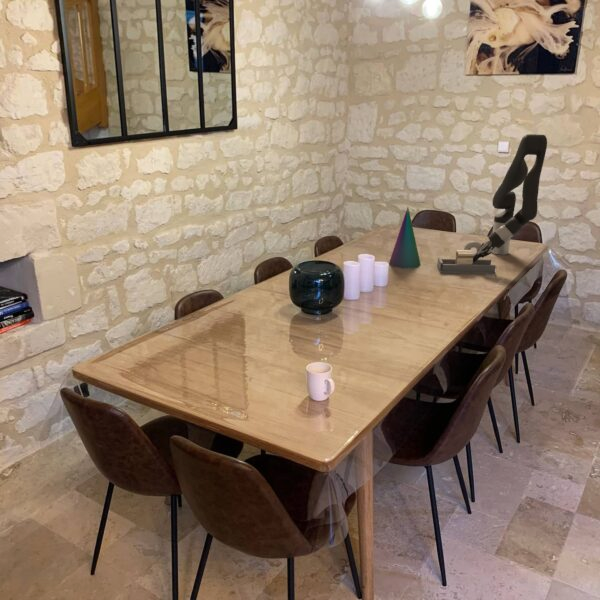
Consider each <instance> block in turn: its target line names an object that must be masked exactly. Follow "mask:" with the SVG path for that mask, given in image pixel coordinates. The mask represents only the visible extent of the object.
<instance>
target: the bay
mask: <svg viewBox="0 0 600 600" xmlns="http://www.w3.org/2000/svg"><path fill="white" fill-rule="evenodd" d="M455 260H456V258H442V257H441V256H438V257H437V264H436V266H437V269H438V270H439V273H440V274H451V275H454V274H455V275H492V274H495V275H496V274H497V273H496V265H495V264H492V259H483V258H482V259H481V258H479V259H478V260H477V261H475V262H473V264H472V265H466V264H455Z"/></svg>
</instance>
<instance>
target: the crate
mask: <svg viewBox="0 0 600 600" xmlns="http://www.w3.org/2000/svg"><path fill="white" fill-rule="evenodd" d="M473 253H474V252H473V251H472V250H464V249H456V251H455V259H456V260H455V264H466V265H472V264H473Z"/></svg>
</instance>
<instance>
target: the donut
mask: <svg viewBox="0 0 600 600" xmlns="http://www.w3.org/2000/svg"><path fill="white" fill-rule="evenodd" d="M481 245H482V243H481V242H479V241H476V240H471V241H468V242H467V243H466V244H465V246H464V248H463V250H471V249H473V248H475V249H476V252H475V253H474V252H472V253H473V256H474V255H476V254H477V250H478V249H479V248H480V246H481ZM471 251H472V250H471Z"/></svg>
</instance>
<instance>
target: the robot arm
mask: <svg viewBox="0 0 600 600" xmlns="http://www.w3.org/2000/svg"><path fill="white" fill-rule="evenodd" d="M547 148H548V139H547V136H546V135H545V134H538V133H537V134H533V133H532V134H531V133H529V134H524V135H523V136H522V138H521V140H520V142H519V145H518V147H517V150H516V153H515V155H514V157H513V160H512V162H511V164H510V166H509V167H508V170H507V172H506V173H505V175H504V178H503V180H502V181H501V184H500V185H499V187H498V188H497V190H496V191H495V193H494V195H493V198H492V206H493V208H494V209H497V210H503V211H502V212H500V213H498V214H496V215H494V218H493V225H492V226H493V228H492V233H491V234H490V235H489V236H488V237H487V238H488V241H486V242H484V243H481V246H480V248H479V249H478V250H477V249H476V252H477V254H476V255H474V256H473V262H475V261H477V260H478V259H481V258H482V259H483V258H485V257H487V256H489V255H492V254H495V255H501V256H502V255H504V256H505V255H508V254H509V252H510V244H511V243H510V242H511V238H513V236H515V235H516V234H517V233H518V232H519V231H520V230H522V228H523V227H524V226H525V225H526V224H527V223H529V222H530V221H532V220H534V219H535V218H536V217H537V215H538V197H539V190H540V189H539V188H540V187H539V186H540V179H541V173H542V170H543V166H544V162H545V157H546V153H547ZM528 155H529V156H530V155H531V156H535V161H534V164H533V166H532V167H531V169H530V170H529V168H528V165H527V163H526V160H525V158H526V157H527V156H528ZM521 185H522V194H521V197H522V203H521V204H522V205H521V208H520V209H519V210H518V211H517V213H515V208H516V203H517V202H516V201H517V195H516V193H515V192H514V191H513V190H515V189H516V188H519V187H520V186H521ZM514 213H515V214H514Z"/></svg>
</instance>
